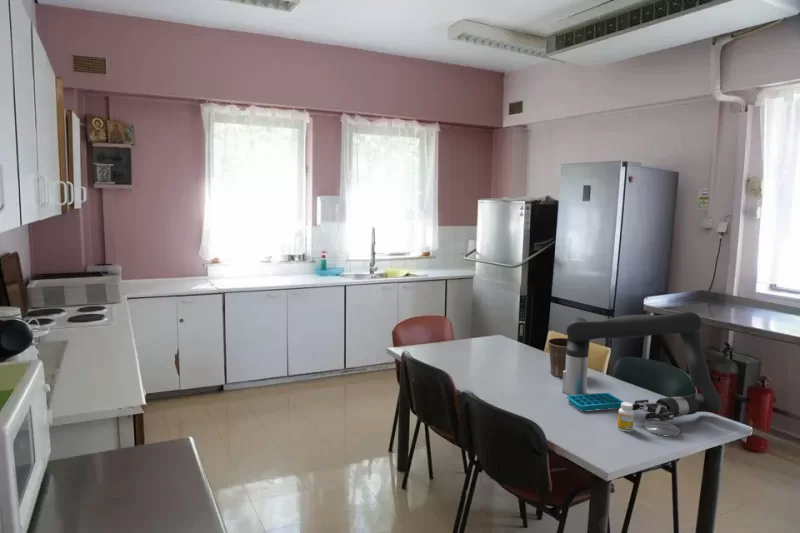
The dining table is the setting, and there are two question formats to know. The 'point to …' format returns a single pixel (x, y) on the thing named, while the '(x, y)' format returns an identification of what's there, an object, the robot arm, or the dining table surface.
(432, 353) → the dining table surface
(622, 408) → the supplement bottle
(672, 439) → the dining table surface
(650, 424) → the coaster
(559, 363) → the plant pot
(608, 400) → the ice cube tray
